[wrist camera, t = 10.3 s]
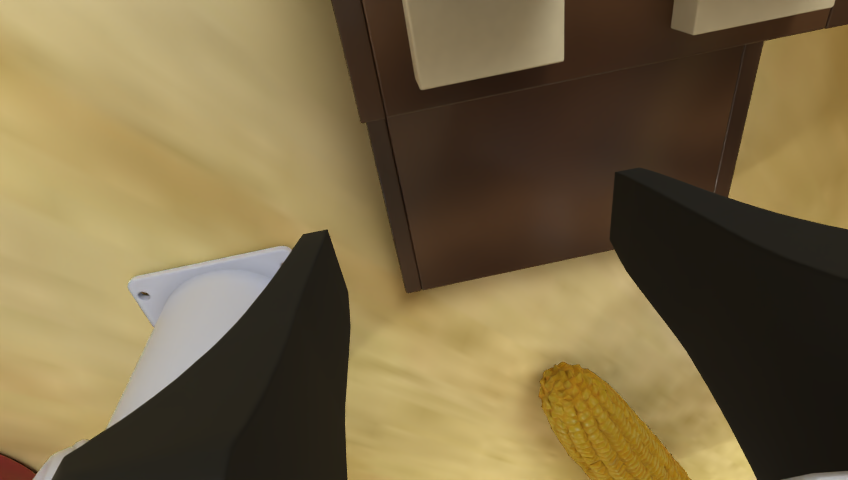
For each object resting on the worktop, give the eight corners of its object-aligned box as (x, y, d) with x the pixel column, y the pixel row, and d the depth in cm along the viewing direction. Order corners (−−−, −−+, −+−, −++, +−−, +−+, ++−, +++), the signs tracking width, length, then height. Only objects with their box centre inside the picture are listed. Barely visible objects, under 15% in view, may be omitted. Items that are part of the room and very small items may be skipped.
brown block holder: (695, 205, 26) (772, 267, 21) (401, 267, 25) (414, 344, 21) (801, -362, 14) (1017, -497, 10) (277, -266, 14) (243, -360, 9)
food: (683, 459, 40) (730, 535, 35) (623, 489, 41) (660, 565, 37) (572, 326, 29) (617, 407, 25) (496, 372, 31) (524, 457, 26)
